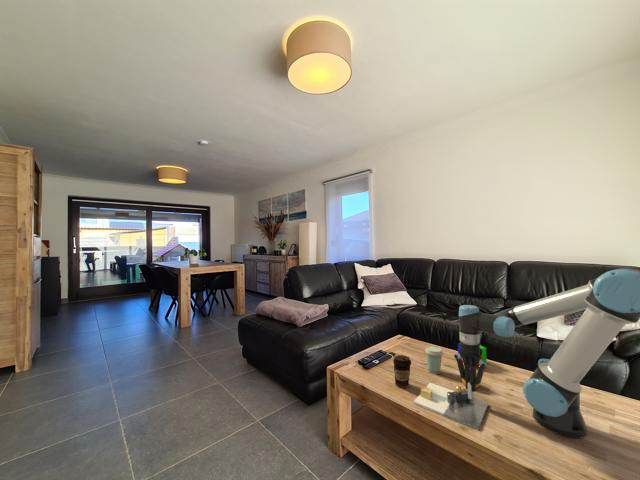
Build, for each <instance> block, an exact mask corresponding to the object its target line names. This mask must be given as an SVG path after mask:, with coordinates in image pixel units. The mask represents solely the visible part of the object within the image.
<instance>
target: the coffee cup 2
mask: <svg viewBox="0 0 640 480" xmlns="http://www.w3.org/2000/svg"><path fill="white" fill-rule="evenodd" d="M425 355H426V356H425V357H426V364H427V372H429V373H430V374H433V375H439V374H440V373H441V367H442V358H443V355H444V353H443V349H442V348H441V347H438V346H436V345H435V346H434V345H430V346H429V345H428V346H427V347H426V348H425Z"/></svg>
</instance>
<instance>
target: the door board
mask: <svg viewBox="0 0 640 480" xmlns="http://www.w3.org/2000/svg"><path fill="white" fill-rule="evenodd" d="M454 391H455V390H452V389H449V388H447V387H444V386H441V385H438V384H435V383H433V382H429V384H427V386H425V387H422V388H421V389H420V394H419V395H418V396H417V397H416V398H415V399H414V400H413V405H416V406H418V407H420V408H422V409H426V410H427V411H431V412H432V413H435V414H437V415H439V416H440V415H441V416H442V417H444V412H445V411H446V409H447V408H448V406H449V404H450V403H448V402H447V392H454Z"/></svg>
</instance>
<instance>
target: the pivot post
mask: <svg viewBox="0 0 640 480" xmlns="http://www.w3.org/2000/svg"><path fill="white" fill-rule="evenodd" d="M447 402H448V403H450V404H454V403H455V394H454V393H452V392H447Z"/></svg>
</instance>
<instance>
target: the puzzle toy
mask: <svg viewBox="0 0 640 480" xmlns="http://www.w3.org/2000/svg"><path fill="white" fill-rule="evenodd" d="M459 352H460V342H459V343H457V354H459ZM480 357H481V360H482V361H483V362H484V363H487V361H488V360H487V347H485V346H482V345H480ZM462 361H463V359H462ZM463 363H464V361H463ZM487 364H488V363H487ZM477 367H479V363H478V364H477Z"/></svg>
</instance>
